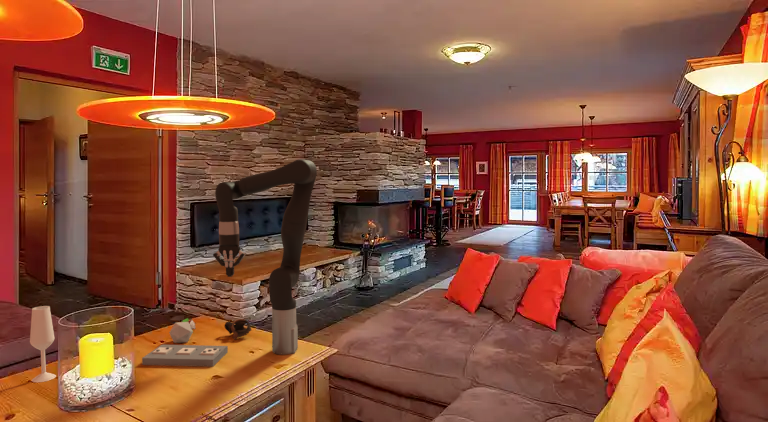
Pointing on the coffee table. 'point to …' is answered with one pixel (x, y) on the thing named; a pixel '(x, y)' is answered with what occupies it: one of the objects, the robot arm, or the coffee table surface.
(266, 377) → the coffee table surface
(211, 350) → the three pip tile
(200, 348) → the button board
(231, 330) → the pottery mug
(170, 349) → the two pip tile
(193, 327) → the geometric puzzle
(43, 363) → the champagne flute
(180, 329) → the die
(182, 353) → the one pip tile
